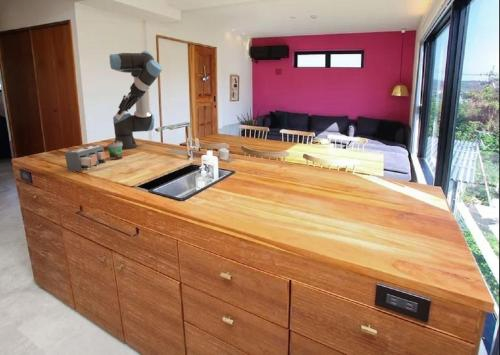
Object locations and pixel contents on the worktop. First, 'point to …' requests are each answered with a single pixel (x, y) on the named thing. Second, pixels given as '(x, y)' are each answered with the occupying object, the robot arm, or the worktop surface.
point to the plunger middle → (93, 156)
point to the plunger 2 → (101, 155)
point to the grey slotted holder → (76, 154)
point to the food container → (115, 150)
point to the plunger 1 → (87, 161)
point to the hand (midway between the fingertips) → (117, 117)
